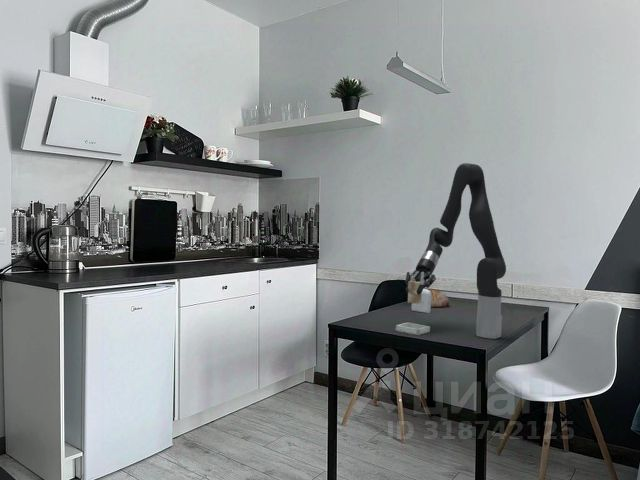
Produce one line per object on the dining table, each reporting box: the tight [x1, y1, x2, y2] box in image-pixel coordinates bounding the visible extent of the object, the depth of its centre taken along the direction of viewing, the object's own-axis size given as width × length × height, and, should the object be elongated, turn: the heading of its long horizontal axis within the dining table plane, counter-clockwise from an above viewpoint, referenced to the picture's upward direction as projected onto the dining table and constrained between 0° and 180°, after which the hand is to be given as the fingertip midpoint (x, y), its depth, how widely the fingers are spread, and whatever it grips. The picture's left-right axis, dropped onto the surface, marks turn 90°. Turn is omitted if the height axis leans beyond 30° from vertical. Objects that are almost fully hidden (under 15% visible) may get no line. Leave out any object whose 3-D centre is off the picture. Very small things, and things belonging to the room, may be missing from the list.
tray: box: [395, 322, 431, 336], centre depth 215 cm, size 11×10×2 cm
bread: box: [428, 288, 450, 309], centre depth 287 cm, size 16×20×10 cm
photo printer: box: [411, 288, 432, 314], centre depth 265 cm, size 10×4×12 cm, turn 56°
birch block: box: [407, 281, 422, 304], centre depth 215 cm, size 4×4×9 cm
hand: (412, 292), depth 214 cm, fingers closed on birch block, 4 cm apart
